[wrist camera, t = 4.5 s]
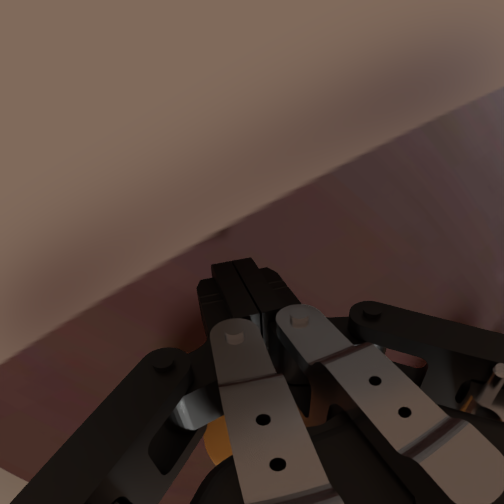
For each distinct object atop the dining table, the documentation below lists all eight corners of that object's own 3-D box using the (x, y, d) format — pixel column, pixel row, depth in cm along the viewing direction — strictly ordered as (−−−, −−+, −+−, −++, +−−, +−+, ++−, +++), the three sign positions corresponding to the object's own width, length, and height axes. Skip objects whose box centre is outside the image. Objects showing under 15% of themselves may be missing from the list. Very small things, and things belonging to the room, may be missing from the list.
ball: (188, 380, 16) (206, 466, 11) (284, 359, 17) (326, 433, 12) (204, 433, 18) (223, 503, 13) (283, 414, 19) (314, 478, 15)
